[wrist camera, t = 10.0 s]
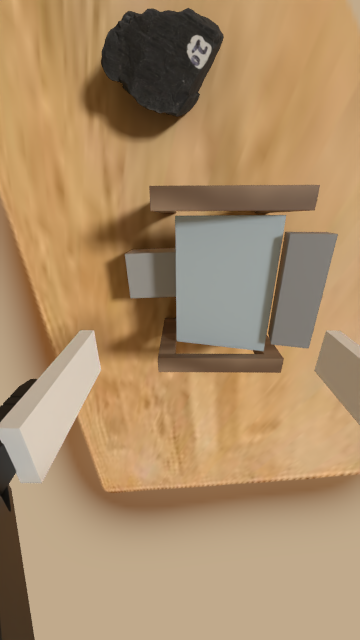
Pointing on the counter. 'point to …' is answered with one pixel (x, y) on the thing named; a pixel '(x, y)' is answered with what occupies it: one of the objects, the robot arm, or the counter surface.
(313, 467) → the counter surface
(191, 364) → the trapdoor frame
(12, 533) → the robot arm
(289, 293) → the trapdoor
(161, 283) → the grey rectangular block
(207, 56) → the rock
